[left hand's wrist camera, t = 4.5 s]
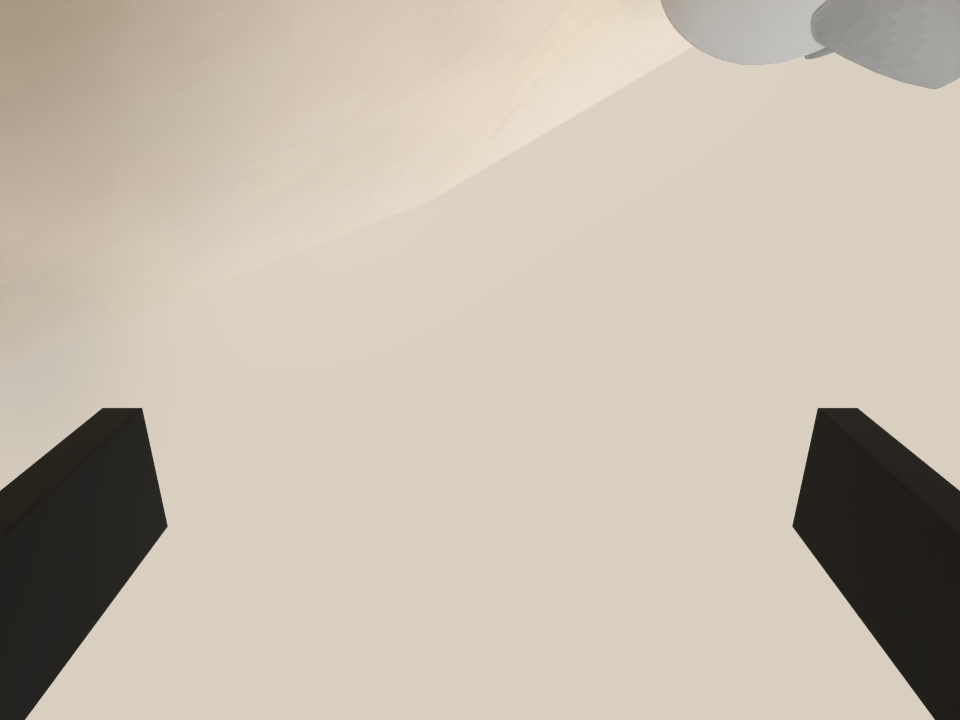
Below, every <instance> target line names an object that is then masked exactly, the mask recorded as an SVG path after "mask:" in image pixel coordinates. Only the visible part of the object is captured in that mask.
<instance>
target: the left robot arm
mask: <svg viewBox="0 0 960 720" xmlns="http://www.w3.org/2000/svg"><path fill="white" fill-rule="evenodd" d="M166 528H167V522H166V517H165V512H164V508H163V503H162V498H161V494H160V489H159V484H158V480H157V475H156V470H155V466H154V461H153V457H152V452H151V447H150V443H149V438H148V433H147V429H146V424H145V420H144V415H143V410H142V408H102V409H101V410H100V411H98V412H97V413H96V414H95V415H94V416H92V417H91V418H90V419H89V420H87V421H86V422H85V423H84V424H82V425H81V426H80V427H79V428H77V429H76V430H75V431H74V432H73V433H71V434H70V435H69V436H68V437H66V438H65V439H64V440H63V441H61V442H60V443H59V444H58V445H56V446H55V447H54V448H53V449H52V450H50V451H49V452H48V453H47V454H45V455H44V456H43V457H42V458H40V459H39V460H38V461H37V462H35V463H34V464H33V465H32V466H30V467H29V468H28V469H27V470H26V471H24V472H23V473H22V474H21V475H19V476H18V477H17V478H16V479H14V480H13V481H12V482H11V483H9V484H8V485H7V486H6V487H5V488H3V489H2V490H1V491H0V720H25V719H26V718H27V716H28V715H29V714H30V712H31V711H32V710H33V708H34V707H35V705H36V704H37V703H38V701H39V700H40V699H41V697H42V696H43V695H44V693H45V692H46V691H47V689H48V688H49V686H50V685H51V684H52V682H53V681H54V680H55V678H56V677H57V676H58V674H59V673H60V671H61V670H62V669H63V667H64V666H65V665H66V663H67V662H68V661H69V659H70V658H71V657H72V655H73V654H74V653H75V651H76V650H77V648H78V647H79V646H80V644H81V643H82V642H83V640H84V639H85V638H86V636H87V635H88V633H89V632H90V631H91V630H92V628H93V627H94V625H95V624H96V623H97V621H98V620H99V619H100V617H101V616H102V615H103V613H104V612H105V611H106V609H107V608H108V606H109V605H110V604H111V602H112V601H113V600H114V598H115V597H116V596H117V594H118V593H119V592H120V590H121V589H122V588H123V586H124V585H125V583H126V582H127V581H128V579H129V578H130V577H131V575H132V574H133V573H134V571H135V570H136V569H137V567H138V566H139V564H140V563H141V562H142V560H143V559H144V558H145V556H146V555H147V554H148V552H149V551H150V550H151V548H152V547H153V546H154V544H155V543H156V541H157V540H158V539H159V537H160V536H161V535H162V533H163V532H164V531H165V529H166ZM793 528H794V529H795V531H796V532H797V533H798V535H799V536H800V537H801V539H802V540H803V541H804V543H805V544H806V545H807V547H808V548H809V550H810V551H811V552H812V554H813V555H814V556H815V558H816V559H817V560H818V562H819V563H820V564H821V566H822V567H823V568H824V570H825V571H826V573H827V574H828V575H829V577H830V578H831V579H832V581H833V582H834V583H835V585H836V586H837V587H838V589H839V590H840V592H841V593H842V594H843V596H844V597H845V598H846V600H847V601H848V602H849V604H850V605H851V606H852V608H853V609H854V610H855V612H856V613H857V615H858V616H859V617H860V619H861V620H862V621H863V623H864V624H865V625H866V627H867V628H868V630H869V631H870V632H871V634H872V635H873V636H874V638H875V639H876V640H877V642H878V643H879V644H880V646H881V647H882V649H883V650H884V651H885V653H886V654H887V655H888V657H889V658H890V659H891V661H892V662H893V663H894V665H895V666H896V667H897V669H898V670H899V672H900V673H901V674H902V676H903V677H904V678H905V680H906V681H907V682H908V684H909V685H910V686H911V688H912V689H913V690H914V692H915V693H916V695H917V696H918V697H919V699H920V700H921V701H922V703H923V704H924V705H925V707H926V708H927V710H928V711H929V712H930V714H931V715H932V716H933V718H934V719H935V720H960V491H959V490H958V489H957V488H956V487H954V486H953V485H952V484H950V483H949V482H948V481H947V480H946V479H944V478H943V477H942V476H941V475H939V474H938V473H937V472H936V471H934V470H933V469H932V468H931V467H929V466H928V465H927V464H926V463H925V462H923V461H922V460H921V459H920V458H918V457H917V456H916V455H915V454H913V453H912V452H911V451H910V450H908V449H907V448H906V447H905V446H904V445H902V444H901V443H900V442H899V441H897V440H896V439H895V438H894V437H892V436H891V435H890V434H889V433H888V432H886V431H885V430H884V429H883V428H881V427H880V426H879V425H878V424H876V423H875V422H874V421H873V420H871V419H870V418H869V417H868V416H866V415H865V414H864V413H863V412H862V411H860V410H859V409H858V408H818V410H817V415H816V420H815V424H814V429H813V433H812V438H811V443H810V447H809V452H808V457H807V461H806V466H805V471H804V475H803V480H802V484H801V489H800V494H799V498H798V503H797V508H796V512H795V517H794V521H793Z"/></svg>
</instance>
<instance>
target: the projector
mask: <svg viewBox="0 0 960 720" xmlns="http://www.w3.org/2000/svg"><path fill="white" fill-rule="evenodd" d="M661 3H662V7H663V9H664V11H665V13H666V16H667V17H668V19H669V21H670V22H671V24H672V25H673V27H674V28H675V29H676V30H677V31H678V32H679V33H680V35H681V36H682V37H683V38H684V39H685V40H687V41H688V42H689V43H691V44H692V45H693V46H695V47H696V48H697V49H699V50H701V51H703V52H705V53H707V54H709V55H711V56H713V57H715V58H717V59H720V60H723V61H728V62H732V63H737V64H742V65H765V64H775V63H780V62H784V61H788V60H792V59H795V58H799V57H803V56H805V58H806V59H813V58H817V57H821V56H824V55H827V54H830V53H833V52H835V53H837V54H839V55H840V56H842V57H844V58H846V59H848V60H850V61H852V62H854V63H857V64H859V65H861V66H863V67H865V68H867V69H869V70H871V71H874V72H876V73H879V74H881V75H884V76H887V77H890V78H892V79H895V80H898V81H901V82H904V83H908V84H913V85H917V86H922V87H926V88H930V89H937V88H941V87H943V86H945V85H947V84H949V83H951V82H953V81H955V80H957V79H958V78H960V0H661Z"/></svg>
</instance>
